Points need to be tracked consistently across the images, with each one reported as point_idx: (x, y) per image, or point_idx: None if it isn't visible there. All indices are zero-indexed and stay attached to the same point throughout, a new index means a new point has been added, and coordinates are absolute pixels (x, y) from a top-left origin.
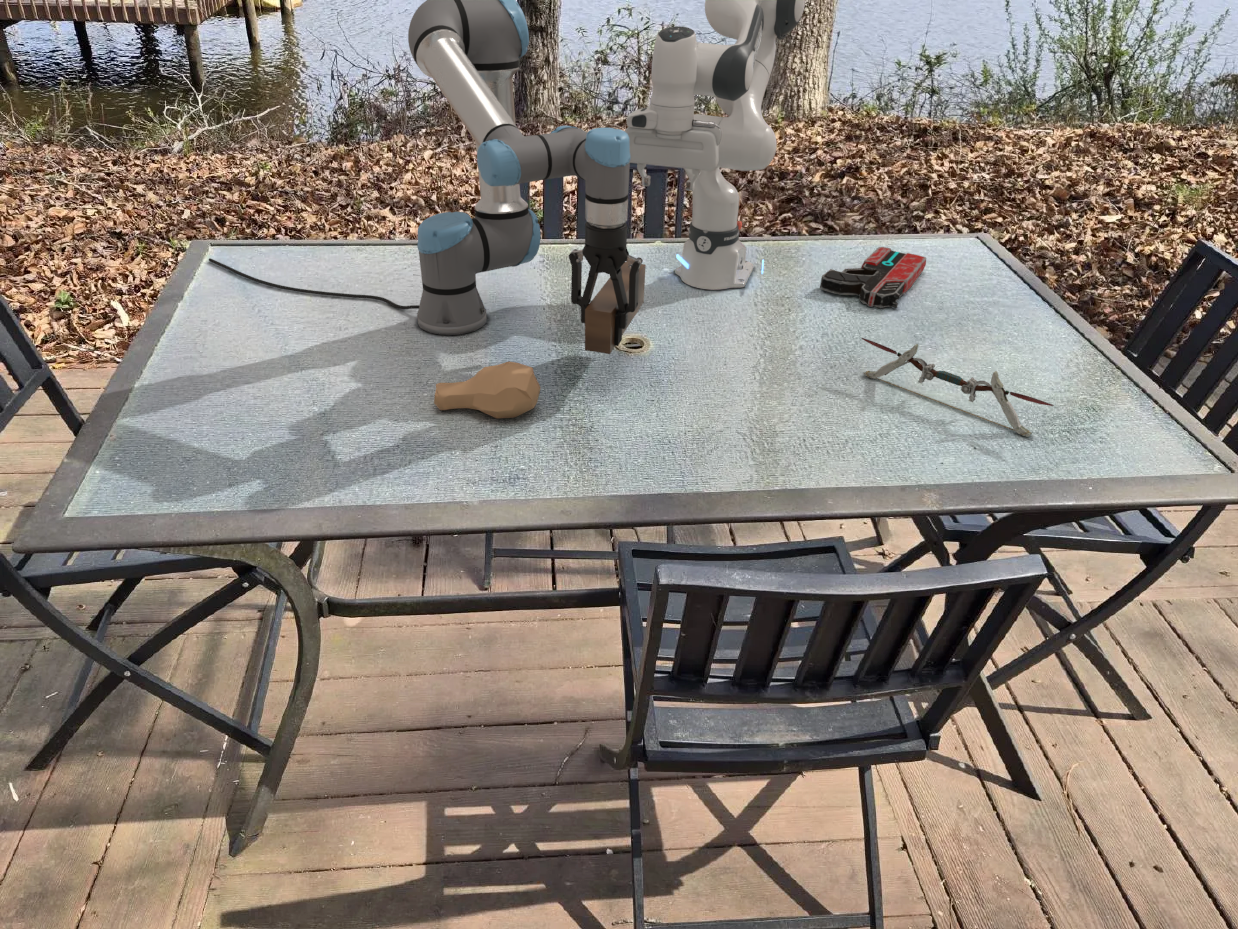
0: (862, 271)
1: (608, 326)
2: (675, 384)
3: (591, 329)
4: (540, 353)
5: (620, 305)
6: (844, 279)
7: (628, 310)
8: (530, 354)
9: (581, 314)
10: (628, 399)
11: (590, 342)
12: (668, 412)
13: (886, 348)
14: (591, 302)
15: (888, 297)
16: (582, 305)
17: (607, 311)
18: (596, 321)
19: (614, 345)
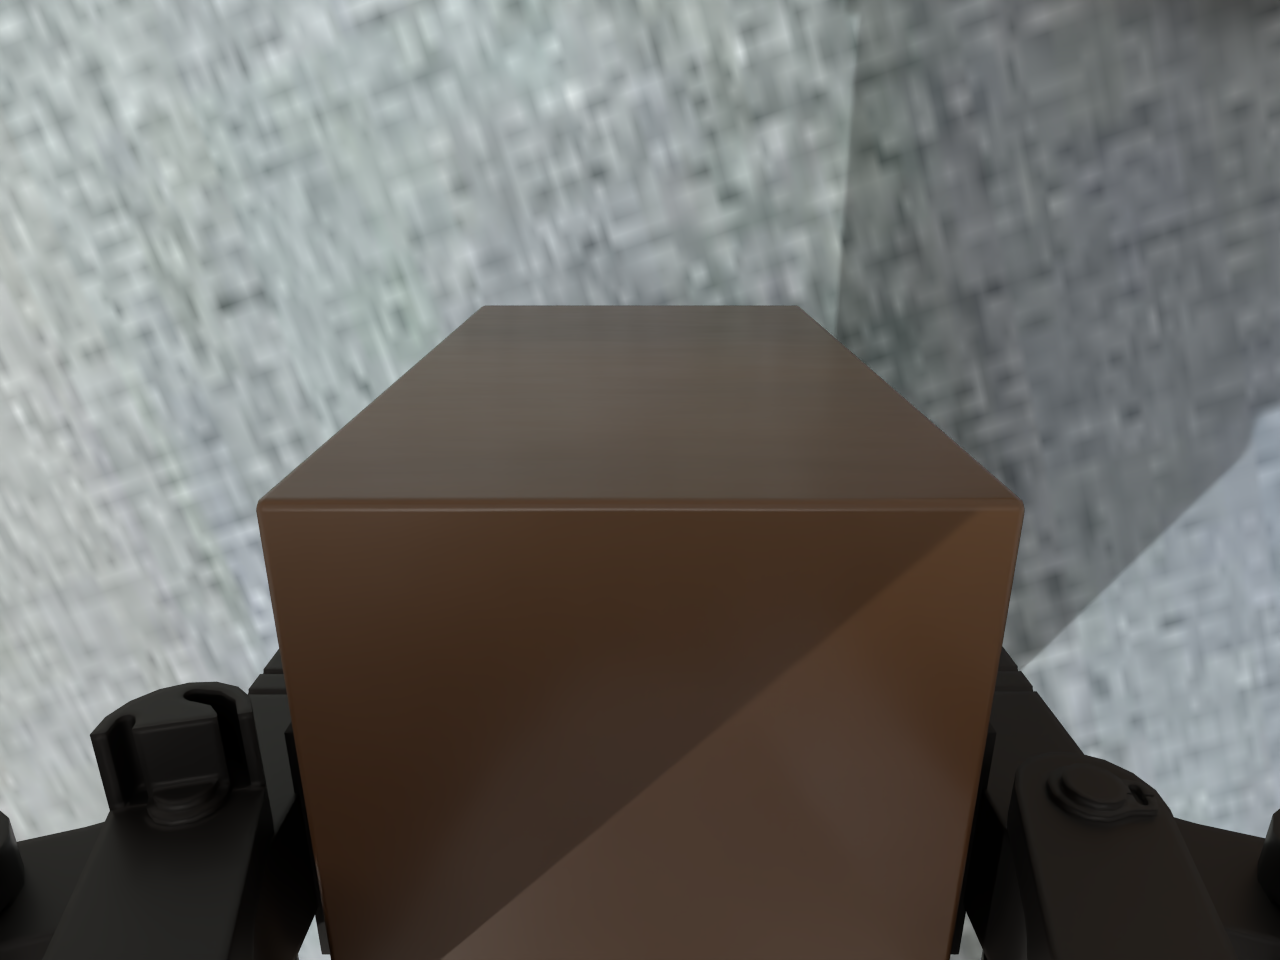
0: None
1: (423, 394)
2: (177, 569)
3: (753, 366)
4: (1164, 690)
5: (162, 900)
6: None
7: (70, 853)
8: (1230, 659)
9: (1033, 699)
10: (396, 263)
11: (741, 326)
12: (45, 164)
13: None
14: (935, 894)
15: None
16: (1111, 787)
17: (381, 552)
18: (670, 410)
19: None
